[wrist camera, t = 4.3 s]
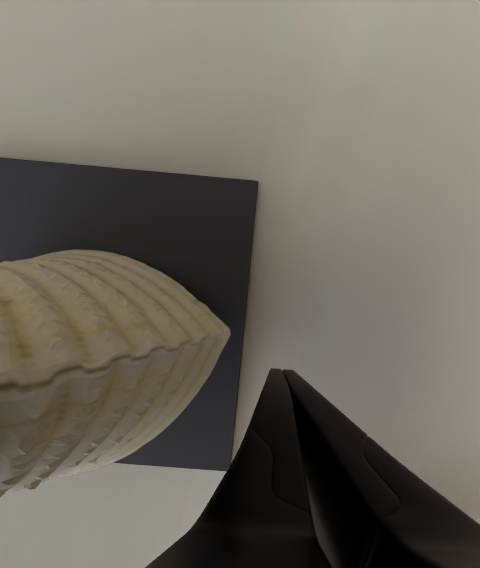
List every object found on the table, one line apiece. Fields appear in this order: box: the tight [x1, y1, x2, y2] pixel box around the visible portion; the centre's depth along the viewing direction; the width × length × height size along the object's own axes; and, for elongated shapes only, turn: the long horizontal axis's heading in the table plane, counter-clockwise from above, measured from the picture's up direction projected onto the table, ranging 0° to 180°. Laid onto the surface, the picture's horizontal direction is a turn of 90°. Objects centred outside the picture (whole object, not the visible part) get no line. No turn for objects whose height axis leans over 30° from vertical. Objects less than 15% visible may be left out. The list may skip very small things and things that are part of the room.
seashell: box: [0, 250, 231, 497], centre depth 8 cm, size 8×8×8 cm
